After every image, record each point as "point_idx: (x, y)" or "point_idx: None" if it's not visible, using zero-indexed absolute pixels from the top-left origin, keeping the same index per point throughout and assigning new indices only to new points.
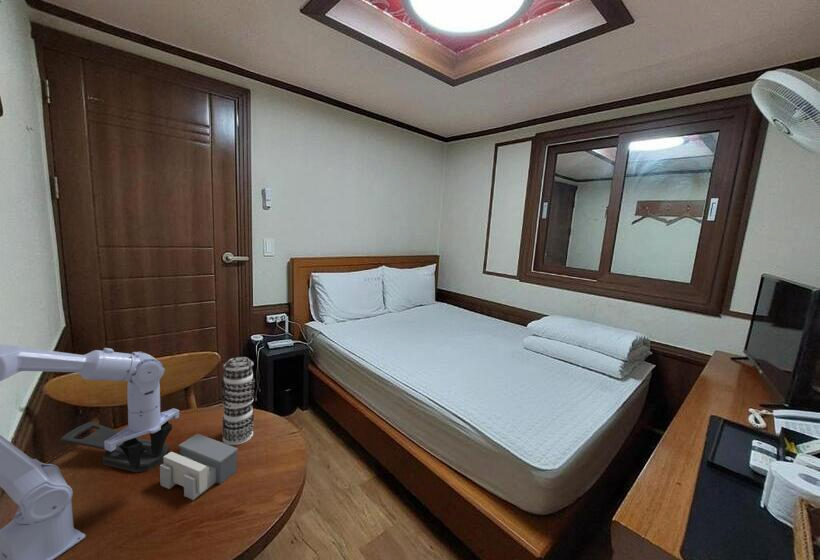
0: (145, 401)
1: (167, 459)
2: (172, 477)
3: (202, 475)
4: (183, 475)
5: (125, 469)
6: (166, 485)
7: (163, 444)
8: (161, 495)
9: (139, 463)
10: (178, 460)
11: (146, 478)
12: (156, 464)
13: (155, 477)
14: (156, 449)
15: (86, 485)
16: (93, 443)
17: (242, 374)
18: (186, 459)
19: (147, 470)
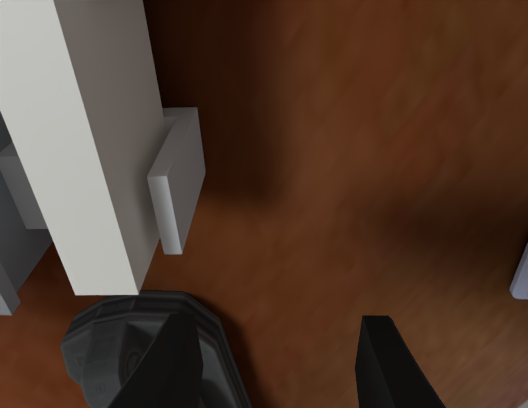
0: None
1: (131, 252)
2: (158, 140)
3: None
4: (117, 44)
5: (231, 354)
6: (197, 134)
7: (113, 405)
8: (245, 101)
9: (380, 347)
10: (81, 170)
11: (215, 259)
12: (147, 296)
13: (190, 235)
14: (181, 386)
15: (342, 377)
16: None
17: None
18: (22, 122)
19: (187, 294)
